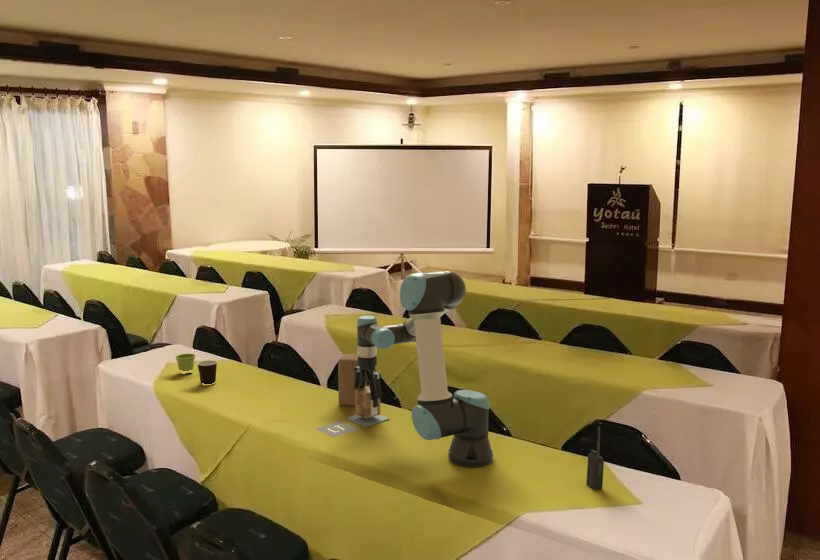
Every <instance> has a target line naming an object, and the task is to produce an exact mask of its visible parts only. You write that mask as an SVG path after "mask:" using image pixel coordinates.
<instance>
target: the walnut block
mask: <svg viewBox="0 0 820 560" xmlns="http://www.w3.org/2000/svg"><path fill="white" fill-rule="evenodd" d="M371 399H372V396H371V392H370V387H369V385H367V387H363V388H359V389H356V390H355V406H354V415H359V416H361V417H363V418H366V419H367V418H371V417H374V416H377V415H381V398H379V399H378V407H377V414H376V415H373V416H371Z"/></svg>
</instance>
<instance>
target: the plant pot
mask: <svg viewBox="0 0 820 560" xmlns="http://www.w3.org/2000/svg"><path fill="white" fill-rule="evenodd" d="M195 357H196V354H194V353H182V354H178V355H175V357H174V358H175V360H176V362H177V367H178V371H179V370H182V371H189V370H192V369H193V370H194V364H195V363H194V362H195Z"/></svg>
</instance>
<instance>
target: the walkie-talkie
mask: <svg viewBox="0 0 820 560" xmlns="http://www.w3.org/2000/svg"><path fill="white" fill-rule="evenodd" d="M600 439H601V426H598V429H597V440H596V441H597V442H596V444H597V445H596V450H594V449H591V450H590V453H587V468H586V469H587V470H586V482H585V483H586V486H587V487H589V489H591V490H592V491H598V490H603V486H604V485H603V483H604V466H605V465H604V463H605V461H604V457H603V456H601V455H600V454H601V453H600V447H601V440H600Z"/></svg>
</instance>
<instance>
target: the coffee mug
mask: <svg viewBox="0 0 820 560" xmlns="http://www.w3.org/2000/svg"><path fill="white" fill-rule="evenodd" d="M217 364H218V361H216V360H212V359H210V360H209V359H208V360H201V361H199V362H197V364H196V365H197V368H198V369H197V370H198V375H199V382H200V384H201V383H204V384H212V383H214V382H215V381H216V380H217ZM216 382H217V381H216ZM216 382H215V383H216Z"/></svg>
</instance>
